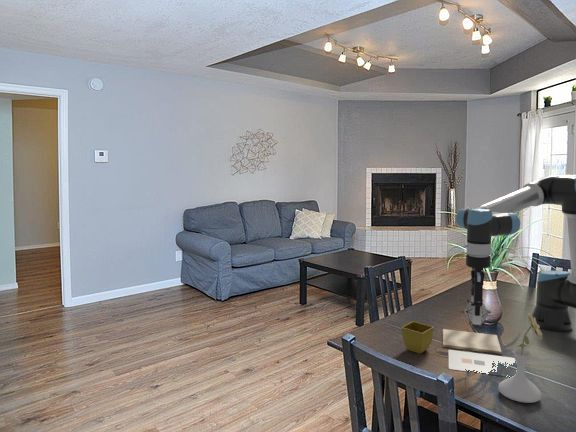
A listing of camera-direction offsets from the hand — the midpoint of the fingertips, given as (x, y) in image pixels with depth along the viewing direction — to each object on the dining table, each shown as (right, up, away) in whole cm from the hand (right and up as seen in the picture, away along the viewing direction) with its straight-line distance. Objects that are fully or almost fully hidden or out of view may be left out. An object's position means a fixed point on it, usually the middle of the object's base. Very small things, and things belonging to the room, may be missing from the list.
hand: (475, 319), depth 151 cm
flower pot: (-17, -15, +12) cm, 25 cm away
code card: (+3, -16, +1) cm, 16 cm away
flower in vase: (+5, -18, -20) cm, 27 cm away
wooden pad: (+6, -13, +19) cm, 24 cm away
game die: (0, -2, 0) cm, 2 cm away
